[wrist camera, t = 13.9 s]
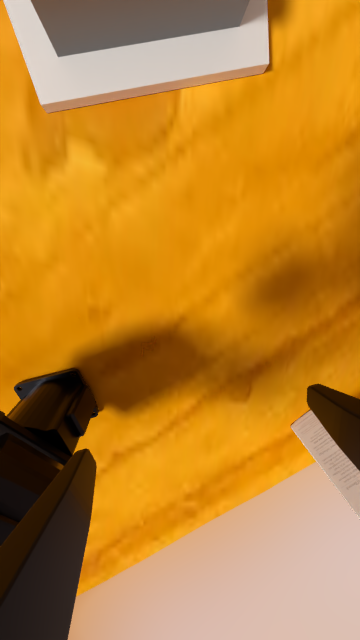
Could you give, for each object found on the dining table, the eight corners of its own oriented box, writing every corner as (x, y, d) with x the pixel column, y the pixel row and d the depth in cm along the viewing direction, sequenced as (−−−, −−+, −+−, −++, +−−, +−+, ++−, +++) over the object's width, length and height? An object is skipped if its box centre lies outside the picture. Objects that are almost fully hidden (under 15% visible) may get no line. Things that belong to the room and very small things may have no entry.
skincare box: (330, 425, 29) (443, 536, 18) (306, 443, 30) (401, 560, 18) (310, 406, 27) (424, 517, 16) (286, 426, 28) (378, 545, 16)
